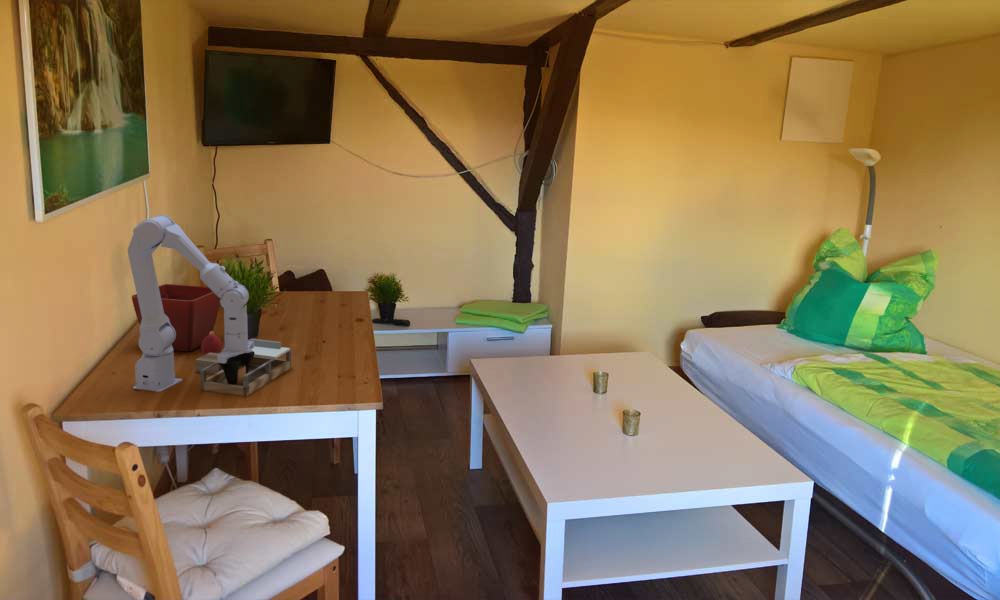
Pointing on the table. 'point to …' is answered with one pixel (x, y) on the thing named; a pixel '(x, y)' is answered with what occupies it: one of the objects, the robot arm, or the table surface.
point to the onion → (211, 344)
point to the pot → (241, 374)
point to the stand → (208, 363)
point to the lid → (268, 348)
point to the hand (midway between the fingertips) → (237, 381)
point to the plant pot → (187, 313)
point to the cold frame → (247, 376)
